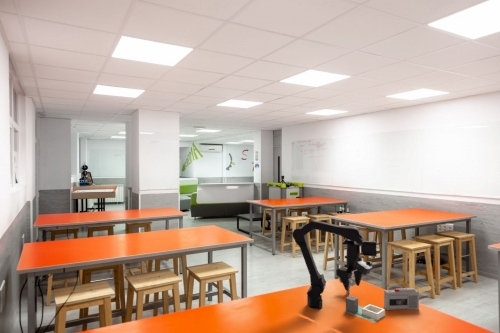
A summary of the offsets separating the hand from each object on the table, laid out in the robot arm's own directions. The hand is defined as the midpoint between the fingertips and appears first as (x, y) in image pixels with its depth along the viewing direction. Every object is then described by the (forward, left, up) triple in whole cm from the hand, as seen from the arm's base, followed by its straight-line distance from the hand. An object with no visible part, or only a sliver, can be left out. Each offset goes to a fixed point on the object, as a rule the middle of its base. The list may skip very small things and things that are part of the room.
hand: (352, 287), depth 148 cm
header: (+8, +5, -11) cm, 14 cm away
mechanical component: (-13, +17, -12) cm, 24 cm away
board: (+4, +3, -12) cm, 13 cm away
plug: (-1, +1, -11) cm, 11 cm away
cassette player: (+13, +21, -12) cm, 28 cm away
